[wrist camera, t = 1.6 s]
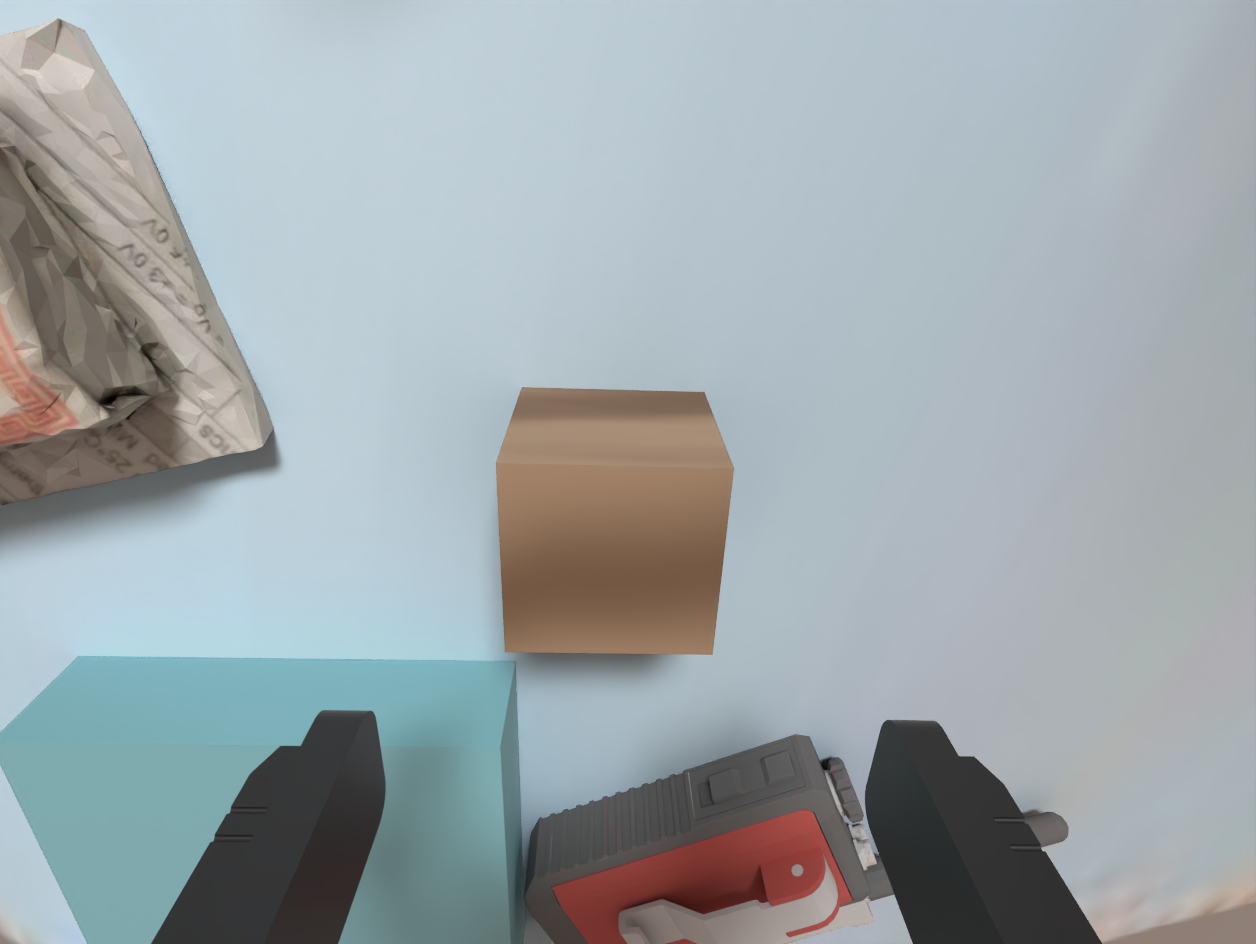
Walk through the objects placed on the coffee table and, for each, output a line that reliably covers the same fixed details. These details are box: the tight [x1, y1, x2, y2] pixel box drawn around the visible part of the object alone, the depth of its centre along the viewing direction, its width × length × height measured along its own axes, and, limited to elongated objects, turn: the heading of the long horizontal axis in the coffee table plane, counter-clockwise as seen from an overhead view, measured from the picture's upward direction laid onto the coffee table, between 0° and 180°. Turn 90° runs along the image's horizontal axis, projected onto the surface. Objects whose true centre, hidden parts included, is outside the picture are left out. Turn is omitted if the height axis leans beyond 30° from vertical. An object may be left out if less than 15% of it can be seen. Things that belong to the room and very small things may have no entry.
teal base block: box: [0, 656, 525, 944], centre depth 24 cm, size 14×14×4 cm
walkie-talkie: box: [524, 735, 1068, 944], centre depth 25 cm, size 9×4×20 cm
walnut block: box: [496, 387, 734, 655], centre depth 18 cm, size 5×5×5 cm
